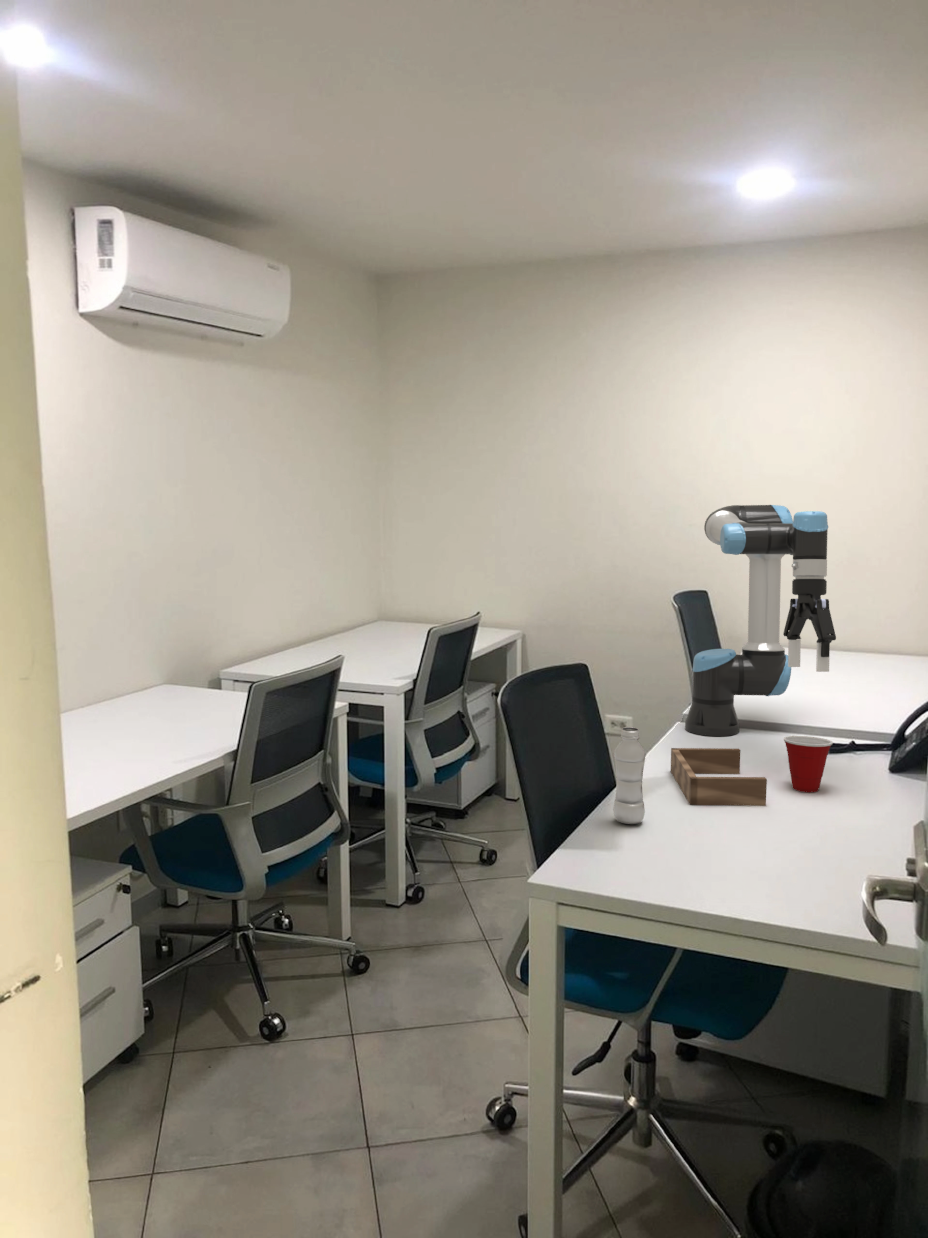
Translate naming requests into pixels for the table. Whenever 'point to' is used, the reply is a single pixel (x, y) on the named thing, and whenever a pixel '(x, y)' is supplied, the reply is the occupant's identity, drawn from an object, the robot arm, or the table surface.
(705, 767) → the box
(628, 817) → the plastic bottle
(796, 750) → the plastic cup
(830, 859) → the table surface
